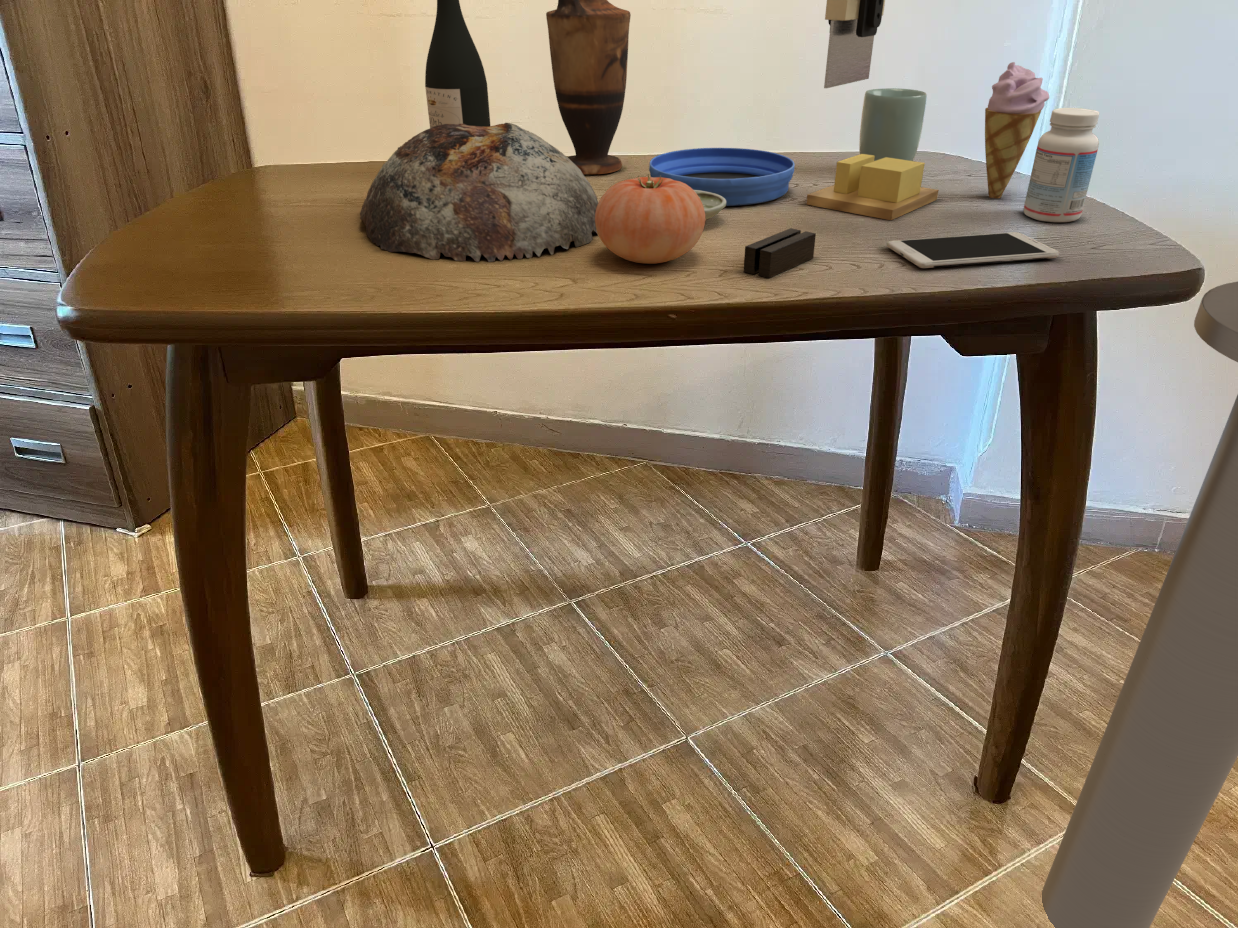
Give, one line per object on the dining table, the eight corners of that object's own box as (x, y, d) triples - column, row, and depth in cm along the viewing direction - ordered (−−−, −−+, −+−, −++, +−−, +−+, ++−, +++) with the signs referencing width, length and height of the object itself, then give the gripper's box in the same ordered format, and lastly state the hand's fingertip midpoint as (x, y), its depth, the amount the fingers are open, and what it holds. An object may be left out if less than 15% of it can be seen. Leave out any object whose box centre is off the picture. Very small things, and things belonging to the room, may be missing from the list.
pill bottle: (1066, 209, 102) (1092, 106, 96) (1089, 224, 96) (1118, 115, 91) (1013, 209, 102) (1036, 106, 96) (1033, 224, 97) (1059, 116, 91)
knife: (877, 79, 92) (889, -13, 87) (835, 89, 86) (845, -9, 81) (857, 78, 93) (869, -13, 88) (815, 87, 87) (824, -10, 83)
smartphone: (884, 240, 89) (1018, 231, 91) (883, 246, 89) (1016, 237, 92) (920, 263, 83) (1062, 252, 85) (919, 269, 83) (1061, 258, 85)
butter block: (920, 193, 104) (925, 162, 102) (896, 203, 100) (901, 171, 98) (881, 186, 107) (885, 157, 105) (857, 196, 103) (861, 165, 101)
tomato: (726, 262, 86) (730, 179, 82) (636, 283, 81) (636, 196, 77) (660, 236, 94) (662, 159, 90) (575, 254, 89) (572, 173, 84)
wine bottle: (455, 184, 115) (427, -85, 99) (424, 174, 120) (393, -83, 104) (505, 174, 119) (486, -85, 104) (473, 165, 124) (450, -83, 109)
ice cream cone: (989, 188, 111) (1016, 58, 103) (1035, 197, 107) (1067, 63, 99) (959, 196, 107) (984, 62, 100) (1005, 206, 103) (1035, 67, 95)
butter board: (937, 200, 106) (938, 189, 105) (891, 220, 98) (892, 209, 98) (855, 186, 112) (856, 176, 112) (806, 204, 105) (807, 194, 104)
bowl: (722, 168, 122) (723, 141, 120) (821, 192, 109) (825, 163, 107) (620, 188, 112) (619, 159, 110) (716, 217, 100) (717, 186, 98)
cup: (895, 163, 123) (906, 87, 118) (925, 175, 117) (939, 95, 112) (845, 167, 122) (854, 90, 116) (873, 179, 115) (884, 98, 110)
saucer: (671, 237, 93) (672, 214, 92) (623, 217, 100) (623, 195, 99) (742, 223, 98) (744, 201, 96) (692, 205, 105) (692, 184, 103)
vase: (592, 157, 129) (586, -83, 113) (646, 168, 122) (648, -85, 107) (536, 169, 122) (523, -84, 107) (591, 181, 115) (585, -87, 100)
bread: (561, 178, 117) (557, 98, 112) (643, 245, 91) (644, 145, 86) (351, 195, 110) (337, 111, 105) (375, 275, 83) (358, 167, 78)
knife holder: (813, 258, 87) (816, 233, 86) (768, 278, 82) (770, 252, 80) (788, 252, 88) (790, 228, 87) (743, 272, 83) (744, 246, 82)
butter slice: (870, 185, 108) (874, 155, 106) (846, 194, 104) (850, 164, 102) (857, 182, 109) (861, 153, 107) (833, 192, 105) (836, 161, 103)
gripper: (779, -190, 80) (763, 34, 89) (949, -209, 71) (912, 43, 80) (820, -183, 85) (801, 29, 94) (984, -199, 76) (945, 36, 85)
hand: (853, 33), depth 87 cm, fingers closed on knife, 2 cm apart
